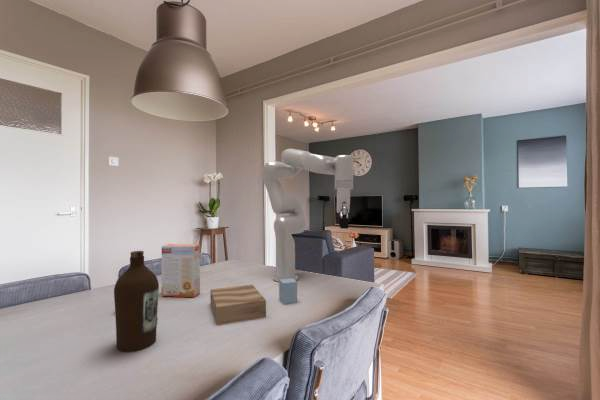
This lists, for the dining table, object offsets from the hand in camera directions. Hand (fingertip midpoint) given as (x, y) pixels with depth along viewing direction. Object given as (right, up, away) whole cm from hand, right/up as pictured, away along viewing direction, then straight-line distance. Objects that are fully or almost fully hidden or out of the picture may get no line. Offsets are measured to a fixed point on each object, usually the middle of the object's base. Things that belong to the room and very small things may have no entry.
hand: (343, 227), depth 119 cm
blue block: (-23, -28, -7) cm, 37 cm away
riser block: (-41, -29, -16) cm, 52 cm away
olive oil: (-62, -28, -40) cm, 79 cm away
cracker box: (-67, -29, +1) cm, 73 cm away
